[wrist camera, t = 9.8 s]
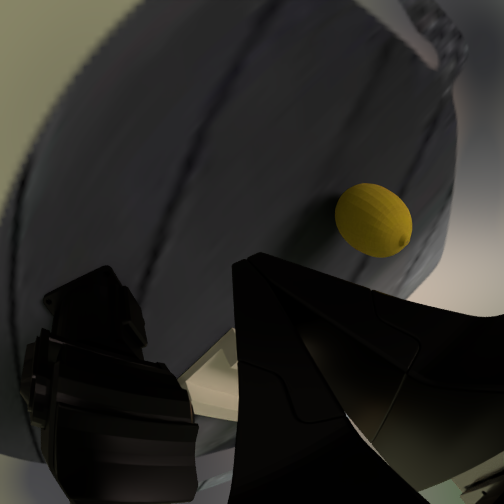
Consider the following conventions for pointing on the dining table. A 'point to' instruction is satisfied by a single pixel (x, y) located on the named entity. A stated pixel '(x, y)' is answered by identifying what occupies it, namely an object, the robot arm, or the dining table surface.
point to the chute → (215, 380)
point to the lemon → (373, 220)
